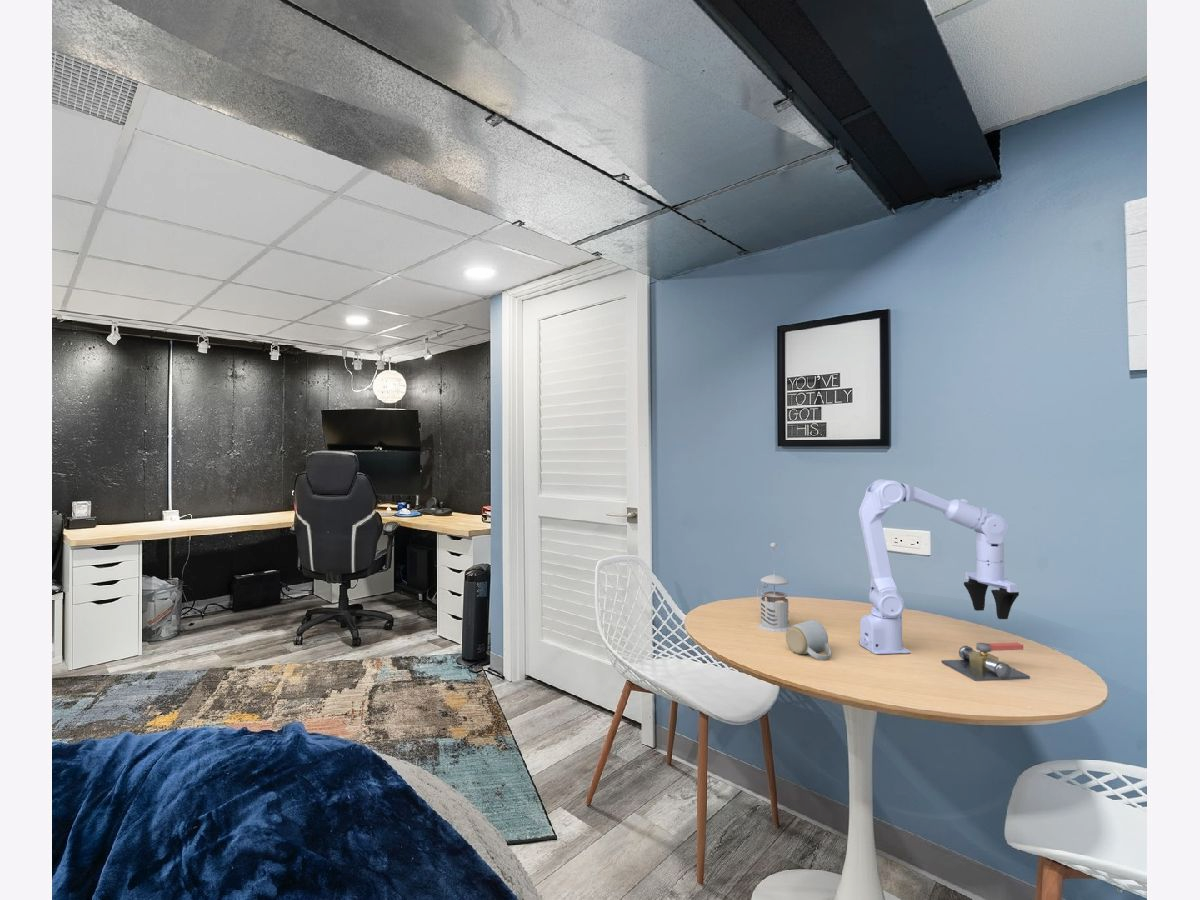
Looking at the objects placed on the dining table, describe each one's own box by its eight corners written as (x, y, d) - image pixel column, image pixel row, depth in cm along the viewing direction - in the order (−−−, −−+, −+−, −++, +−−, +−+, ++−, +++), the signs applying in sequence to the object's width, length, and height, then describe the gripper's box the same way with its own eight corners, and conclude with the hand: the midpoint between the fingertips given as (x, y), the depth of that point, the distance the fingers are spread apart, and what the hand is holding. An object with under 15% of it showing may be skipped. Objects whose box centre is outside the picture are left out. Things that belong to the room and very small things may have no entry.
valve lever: (982, 652, 129) (982, 646, 129) (973, 647, 132) (973, 642, 132) (1025, 650, 130) (1025, 645, 130) (1015, 646, 133) (1015, 641, 133)
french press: (772, 633, 159) (771, 545, 159) (746, 623, 169) (745, 540, 170) (799, 629, 163) (798, 543, 163) (772, 618, 173) (771, 538, 174)
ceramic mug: (783, 650, 145) (783, 620, 145) (805, 644, 149) (805, 616, 149) (816, 664, 136) (816, 632, 136) (839, 658, 140) (839, 627, 140)
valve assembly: (1031, 679, 125) (1031, 659, 125) (976, 681, 124) (976, 661, 124) (990, 660, 137) (990, 641, 137) (940, 661, 136) (939, 643, 136)
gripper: (1029, 565, 134) (1029, 622, 134) (982, 555, 149) (983, 606, 148) (1001, 566, 133) (1002, 623, 133) (957, 555, 148) (958, 607, 148)
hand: (990, 614), depth 141 cm, fingers open, 7 cm apart
